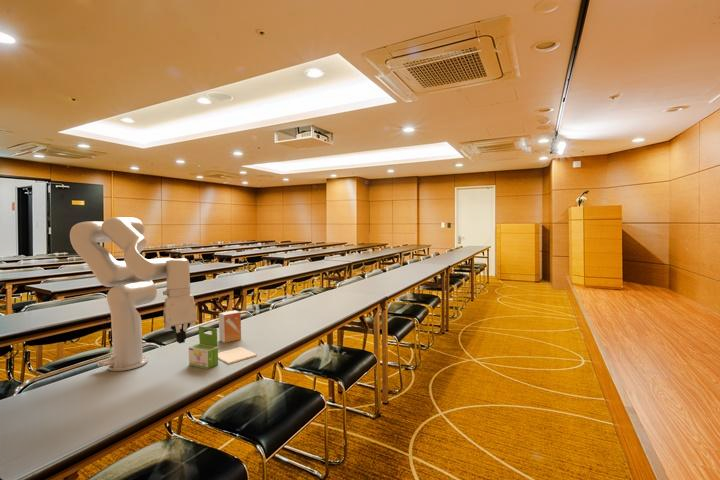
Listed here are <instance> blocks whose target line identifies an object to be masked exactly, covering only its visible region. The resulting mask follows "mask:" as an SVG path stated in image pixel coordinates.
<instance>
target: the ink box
mask: <svg viewBox="0 0 720 480" xmlns="http://www.w3.org/2000/svg"><path fill="white" fill-rule="evenodd" d="M205 331H209V332H210V333H211V334H210V333H209V334H208V333H205ZM198 339H199V343H196V344H194V345H190V346H188V365H189V366H191V367H195V368H200V369H203V370H204V369H205V370H209V369H211V368H214V367H215V366H218V365H219V359H218V353H219V347H218V328H215V327H208V326H201V325H199V326H198Z"/></svg>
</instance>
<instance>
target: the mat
mask: <svg viewBox="0 0 720 480" xmlns="http://www.w3.org/2000/svg"><path fill="white" fill-rule="evenodd" d="M257 356H258V354H256V353H255V352H252V351H250V350H248V349H246V348H244V347H242V346H238V347H235V348H231V349H227V350H225V351H224V350H223V351H221V352H218V360H220V361H221V362H223V363H225V364H227V365H231V364H234V363H237V362H241V361H244V360H248V359H251V358H254V357H257Z"/></svg>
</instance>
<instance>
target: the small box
mask: <svg viewBox="0 0 720 480" xmlns="http://www.w3.org/2000/svg"><path fill="white" fill-rule="evenodd" d="M241 314H242V313H241V312H240V311H239V310H235V309H234V310H229V311H223V312H219V313H218V333H219V334H218V336H219V341H220V342H222V343H224V344H227V343H230V342H235V341H239V340H240V341H241V340H242V324H241V323H242V321H241V319H242V318H241V316H242V315H241Z"/></svg>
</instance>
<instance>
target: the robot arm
mask: <svg viewBox="0 0 720 480" xmlns="http://www.w3.org/2000/svg"><path fill="white" fill-rule="evenodd" d="M144 233H145V226H144V223H143V222H142V221H141V220H140V219H138V218H137V217H125V216H124V217H123V216H122V217H120V216H119V217H118V216H113V217H109V218H107V219H105V220H104V221H98V220H97V221H96V220H95V221H92V220H91V221H88V220H87V221H82V222H78V223H76V224H74V225H73V226H72V227H71V229H70V231H69V239H70V245H72V248H73V249H74V251H75V252H76V254H77V255H78V256H79V257H80V258H81V259H82V260H83V261H84V262H85V264H86V265H87V266H88V267H89V269H90V270H91V272H92V273H93V274H94V276H95V278H96V279H97V281H98V282H99V283H100V285H102V286H103V287H107V288H110V287H111V288H110V289H109V290H108V292H107V295H106V302H107V305H108V308H109V311H110V321H111V337H112V338H111V339H112V342H111V343H112V354H111V355H110V357H107V359H102V360H97V367H102V366H103V367H107V366H108V370H110V371H112V372H122V371H123V372H124V371H129V370H133V369H137V368H139V367H143V366H144V365H146V364H147V362H148V357H147V356H144V355H143V335H142V333H143V331H142V317H141V314H140V312H139V311H138V310H137V309H136V307H139V306H143V305H147V304H150V303H153V301H155V300H156V299H157V296H158V290H157V287H156V285H155V283H154V281H155V280H161V279H163V280H164V279H166V289H165V290H164V291H163V290H162V295H163V296H166V297H165V298H164V304H163V323H164V324H163V329H164V330H172V331H174V332H175V341H176V342H177V343H178V344H182V343H183V344H185V342H186V341H185V340H186V339H187V335H186V334H187V333H186V332H187V331H188V329H189V328H190V327H191V326H193V325H195V324H196V323H197V309H196V301H195V298H194V294H192V293H191V279H190V273H191V272H190V261H189V259H187V258H171V257H162V258H159V257H158V258H151V259H147V258H145V257H144V256H143V255H142V254H141V253H142V251H143V250H144V249H145V248H146V247H147V243H148V241H147V238H146V237H145V236H144ZM99 243H113V244H115V245H116V246H117V247H118V248H119V249H120V250H122V251H123V260H122V261H119V260H117V259H115V257H114V256H113V254H112V253H111V252H110V251H109V250H108V249H107V248H105V247H104V246H102V245H100V244H99ZM180 325H181V326H180Z"/></svg>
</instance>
